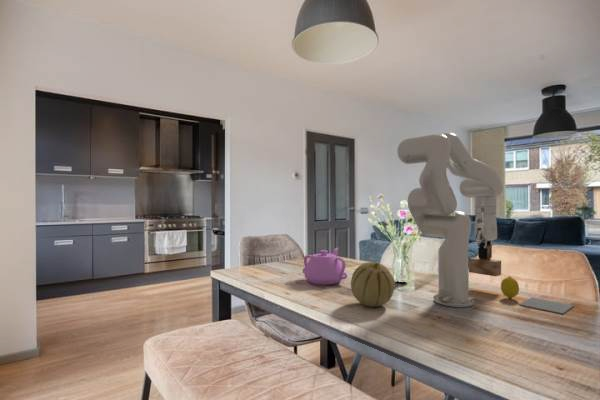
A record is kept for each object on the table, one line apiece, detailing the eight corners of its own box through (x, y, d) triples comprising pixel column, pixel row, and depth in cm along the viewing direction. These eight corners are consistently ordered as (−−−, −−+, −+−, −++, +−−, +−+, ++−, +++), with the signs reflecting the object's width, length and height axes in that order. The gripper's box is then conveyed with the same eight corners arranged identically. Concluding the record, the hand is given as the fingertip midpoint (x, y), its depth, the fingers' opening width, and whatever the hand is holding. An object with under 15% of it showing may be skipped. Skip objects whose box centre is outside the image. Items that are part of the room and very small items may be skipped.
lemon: (521, 301, 121) (521, 278, 121) (504, 300, 122) (504, 277, 122) (515, 296, 126) (515, 274, 126) (498, 296, 127) (498, 274, 127)
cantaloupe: (366, 296, 128) (366, 256, 128) (403, 305, 118) (402, 261, 118) (341, 305, 118) (341, 261, 118) (378, 316, 107) (378, 267, 107)
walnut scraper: (501, 275, 134) (501, 246, 134) (495, 276, 131) (495, 247, 131) (474, 270, 142) (474, 243, 142) (468, 272, 139) (469, 244, 139)
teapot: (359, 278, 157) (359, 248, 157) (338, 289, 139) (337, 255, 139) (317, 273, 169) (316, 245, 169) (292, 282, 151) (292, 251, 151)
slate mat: (563, 314, 107) (562, 313, 107) (519, 305, 116) (519, 304, 116) (573, 306, 115) (573, 305, 115) (532, 298, 124) (531, 297, 124)
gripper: (486, 211, 129) (485, 260, 128) (504, 211, 139) (503, 257, 139) (466, 210, 134) (465, 258, 134) (484, 210, 145) (484, 255, 144)
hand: (484, 257), depth 136 cm, fingers closed on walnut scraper, 3 cm apart
